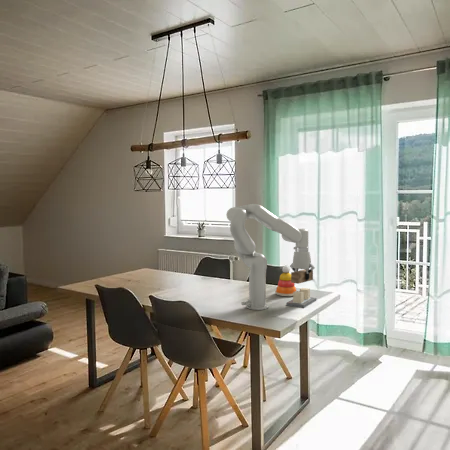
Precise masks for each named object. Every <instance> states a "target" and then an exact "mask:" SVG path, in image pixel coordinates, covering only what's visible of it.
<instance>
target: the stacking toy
mask: <svg viewBox="0 0 450 450" xmlns="http://www.w3.org/2000/svg"><path fill="white" fill-rule="evenodd" d="M290 269H291V267H290V265H289V266H288V264H287V265H283V266H282V269H281V270H282V273H281V274H280V275H279V280H278V281H277V282H278V283H277V287H276V290H274V291H275V292H274V293H275V294H276V295H277V296H281V297H293V292H295V291H297V288H296V286H295V285H296V283H291V273H290Z"/></svg>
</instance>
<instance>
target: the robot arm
mask: <svg viewBox="0 0 450 450" xmlns="http://www.w3.org/2000/svg"><path fill="white" fill-rule="evenodd" d="M226 219H227V220H228V221H229V222H230V225H229V232H230V234H231V236H232V238H233V240H234V243H233V246H234V250H235V252H236V253H237V254H238V257H239V258H240V260H241V261H242V263H244V265H245V266H246V267H248V268H250V270H249V275H248V281H249V282H248V287H249V288H248V291H249V293H248V294H249V295H248V296H249V297H248V299H247V300H246V301H241V306H246V308H247V309H249V310H252V311H264V310H267V309H269V304H267V302H266V301H267V296H266V295H267V291H266V289H267V288H266V287H267V285H266V282H267V280H266V277H267V266H268V259H267V258H266V256H265V255H264V254H263V253H261V252H257V251H256V247H257V246H256V244H255V241H254V240H253V239H252V237H251V236H250V234H249V232H248V231H247V229H246V226H245V225H246V221H247V220H250V219H253V220H254V221H256V222H257V223H260V225H262V226H264V227H265V228H267V229H268V230H271V231H272V232H276V233H279V234H280V235H281V237H282V238H281V239H283V241H285V242H288V243H295V246H294V247H293V250H295V251H294V252H293V257H292V263H291V264H290V265H289V268H290V269H291V270H292V272H296V271H299V270H304V269H305V270H306V273H307V274H306V280H309V273H310V272H311V271H312V270H313V271H314V269H315V268H316V267H315V266H314V265H313V263H312V260H311V253H310V251H309V229H307V228H297V227H295V226H293V225H292V224H290V223H289V222H287V221H285V220H283V219H282V218H280V217H278V216H277V215H275V214H273V213H272V212H271V211H269V210H268V209H267V208H265V207H264V206H262V205H260V204H258V203H257V204H256V203H251V204H250V203H249V204H245V205H240V206H232V207H230V208H229V209H228V210H227V212H226Z"/></svg>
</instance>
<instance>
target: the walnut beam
mask: <svg viewBox="0 0 450 450" xmlns="http://www.w3.org/2000/svg"><path fill="white" fill-rule="evenodd" d="M290 274H291V283H294V284H302V283H303V284H304V283H307V282H310V281H313V280H314V269H313V270H312V271H311V272H310V273H309V280H306V274H307V273H306V270H305V269H299V270H298V271H296V272H294V271H292V272H291V273H290Z"/></svg>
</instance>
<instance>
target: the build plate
mask: <svg viewBox="0 0 450 450" xmlns="http://www.w3.org/2000/svg"><path fill="white" fill-rule="evenodd" d="M316 301H317V297H312V296H311V288H307V287H301V288H299V290H296V291H295V292H293V296H292V299H291V300H289V301H287V302H286V306H290V307H295V308H296V307H297V308H302V309H303V308H306V307H307V306H309V305H312V303H315V302H316Z"/></svg>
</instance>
